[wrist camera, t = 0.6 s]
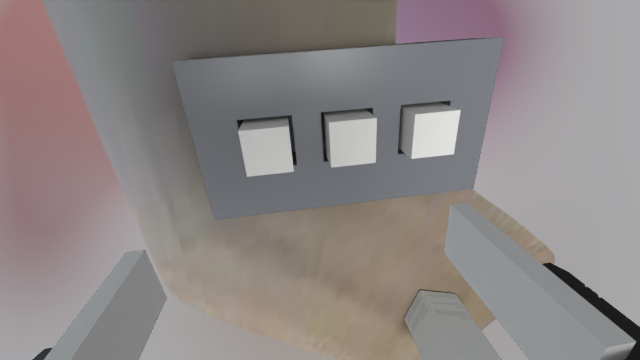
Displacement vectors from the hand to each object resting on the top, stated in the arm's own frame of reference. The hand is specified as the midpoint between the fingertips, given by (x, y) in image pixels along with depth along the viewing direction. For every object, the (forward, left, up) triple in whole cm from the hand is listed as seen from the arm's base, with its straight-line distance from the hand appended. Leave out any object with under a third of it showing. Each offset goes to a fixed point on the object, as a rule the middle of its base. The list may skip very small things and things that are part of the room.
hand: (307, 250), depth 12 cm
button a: (0, -2, -19) cm, 19 cm away
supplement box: (+34, +21, -22) cm, 46 cm away
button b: (0, +6, -19) cm, 20 cm away
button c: (0, +14, -19) cm, 23 cm away
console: (0, +6, -22) cm, 23 cm away
